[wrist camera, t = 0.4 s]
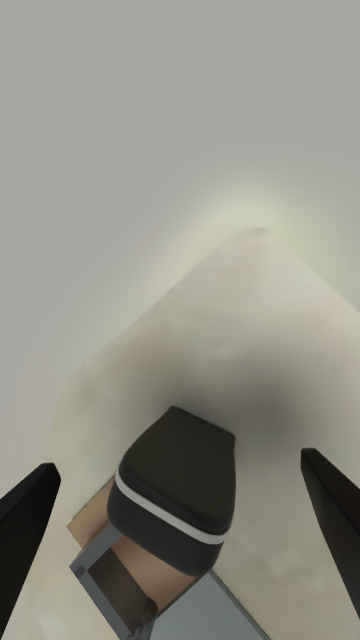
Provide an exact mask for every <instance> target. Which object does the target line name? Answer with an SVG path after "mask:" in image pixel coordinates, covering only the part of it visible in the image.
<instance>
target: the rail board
mask: <svg viewBox="0 0 360 640" xmlns="http://www.w3.org/2000/svg"><path fill="white" fill-rule="evenodd" d="M114 479H115V475H114V476H113V477H112V478H111V480H110V481H109V482H108V483H107V484H106V485H105V486H104V487H103V488H102V489H101V490H100V491H99V492H98V493H97V494H96V495H95V496H94V497H93V499H92V500H91V501H90V502H89V503H88V504H87V505H86V506H85V507H84V508H83V509H82V510H81V511H80V512H79V513H78V514H77V515H76V516H75V518H74V519H73V520H72V521H71V522H70V523H69V524H68V525H67V526H66V527H67V528H68V530H69V531H70V532H71V534H72V535H73V536H74V538H75V539H76V541H77V542H78V543H79V545H80V546H81V548H82V549H83V547H84V546H85V544H86V543H87V542H88V540H89V539H90V538H91V537H92V536H93V535H94V534H95V533H96V532H97V531H98V530H99V528H100V527H101V526H102V525H103V524H104V523H105V522H106V521H107V520H108V515H107V501H108V497H109V493H110V490H111V487H112V485H113V482H114ZM110 548H111V549H112V550H113V552H114V553H115V554H116V556H117V557H118V558H119V560H120V561H121V562H122V564H123V565H124V566H125V568H126V569H127V570H128V572H129V573H130V574H131V576H132V577H133V578H134V579H135V581H136V582H137V583H138V585H139V586H140V587H141V589H142V590H143V591H144V593H145V594H146V595H147V597H149V598H151V599H153V600H154V601H155V603H156V604H157V607H158V612H159V611H161V610H162V609H163V608H164V607H165V606H166V605H167V604H168V603H169V602H170V601H171V600H173V599H174V598H175V597H176V596H177V595H178V594H179V593H180V592H181V591H182V590H183V589H185V588H186V587H187V586H188V585H189V584H190V583H191V582H192V581H193V580H194V579H196V578H197V577H191V576H188V575H186V574H184V573H182V572H179V571H178V570H176V569H175V568H173V567H171V566H170V565H168V564H167V563H165V562H163V561H162V560H160V559H159V558H157V557H155V556H154V555H152V554H151V553H149V552H148V551H146V550H145V549H143V548H142V547H140V546H139V545H137V544H136V543H134V542H133V541H132V540H130V539H129V538H127V537H126V536H124V535H122V536H121V537H120V538H119V539H118V540H117V541H116V542H115V543H114V544H113V545H112V546H111V547H110Z"/></svg>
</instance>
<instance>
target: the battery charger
mask: <svg viewBox="0 0 360 640" xmlns="http://www.w3.org/2000/svg"><path fill="white" fill-rule="evenodd" d="M234 449H235V436H234V435H233V434H231V433H229V432H227V431H225V430H223V429H221V428H219V427H217V426H215V425H213V424H211V423H208V422H206V421H204V420H202V419H200V418H198V417H196V416H194V415H192V414H190V413H187V412H185V411H183V410H181V409H179V408H177V407H174V406H171V407H170V408H169V409H168V410H167V411H166V412H165V414H164V415H163V416H162V417H161V418H160V419H158V420H157V421H156V422H155V423H154V424H153V425H151V426H150V427H149V428H148V429H147V430H146V431H145V432H144V433H143V434H142V435H141V436H140V437H139V438H138V439H137V440H136V441H135V442H134V443H133V444H132V446H131V447H130V448H129V449H128V450H127V451H126V453H125V455H124V456H123V457H122V459H121V460H120V462H119V464H118V467H117V469H116V473H115V479H114V482H113V485H112V487H111V490H110V493H109V497H108V501H107V515H108V519H109V521H110V523H111V524H112V526H113V527H114V528H115V529H117V530H118V531H119V532H120V533H121V534H123V535H124V536H126V537H127V538H129V539H130V540H132V541H133V542H134V543H136V544H137V545H139V546H140V547H142V548H143V549H145V550H146V551H148V552H149V553H151V554H152V555H154V556H155V557H157V558H159V559H160V560H162V561H163V562H165V563H167V564H168V565H170V566H171V567H173V568H175V569H176V570H178V571H179V572H182V573H184V574H186V575H188V576H191V577H200V576H203V575H205V574H206V573H208V572H209V571H210V569H211V568H212V567H213V565H214V564H215V562H216V560H217V558H218V555H219V553H220V550H221V548H222V545H223V543H224V541H225V540H226V538H227V537H228V535H229V533H230V530H231V527H232V523H233V516H234V507H235V493H236V473H235V457H234Z"/></svg>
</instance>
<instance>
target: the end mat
mask: <svg viewBox="0 0 360 640" xmlns="http://www.w3.org/2000/svg"><path fill="white" fill-rule="evenodd" d="M150 640H270V639H269V638H268V636H267V635H266V634H265V633H264V632H263V630H262V629H261V628H260V627H259V626H258V624H257V623H256V622H255V621H254V620H253V618H252V617H251V616H250V615H249V614H248V612H247V611H246V610H245V609H244V608H243V606H242V605H241V604H240V603H239V602H238V600H237V599H236V598H235V597H234V596H233V594H232V593H231V592H230V591H229V590H228V588H227V587H226V586H225V585H224V584H223V582H222V581H221V580H220V579H219V578H218V577H217V575H216V574H215V573H214V572H213V571H212V569H210V571H209V572H208V573H206V574H205V575H203V576H200V577H197V578H196V579H194V580H193V581H192V582H191V583H190V584H189V585H188V586H187V587H186V588H185V589H183V590H182V591H181V592H180V593H179V594H178V595H177V596H176V597H175V598H174V599H173V600H171V601H170V602H169V603H168V604H167V605H166V606H165V607H164V608H163V609H162V610H161V611H159V612H158V613H157V617H156V620H155V624H154V627H153V630H152V634H151V637H150Z"/></svg>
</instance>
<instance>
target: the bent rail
mask: <svg viewBox="0 0 360 640" xmlns="http://www.w3.org/2000/svg"><path fill="white" fill-rule="evenodd" d="M122 535H123V534H121V533H120V532H119V531H118V530H117V529H115V528H114V527H113V526H112V524H111V523H110V521H109V519H108V520H107V521H106V522H105V523H104V524H103V525H102V526H101V527H100V528H99V530H98V531H97V532H96V533H95V534H94V535H93V536H92V537H91V538H90V539H89V540H88V542H87V543H86V544H85V546H84V547H83V549H82V550H81V551H80V553H79V554H78V555H77V557H76V558H75V560H74V561H73V562H72V564H71V565H70V566H69V567H70V569H71V570H72V571H73V573H74V574H75V576H76V577H77V579H78V580H79V582H80V583H81V584H82V586H83V587H84V589H85V590H86V592H87V593H88V594H89V596H90V597H91V599H92V600H93V602H94V603H95V604H96V606H97V607H98V609H99V610H100V612H101V613H102V614H103V616H104V617H105V619H106V620H107V622H108V623H109V625H110V626H111V627H112V629H113V630H114V632H115V633H116V635H117V636H118V637H119V639H120V640H150V637H151V634H152V630H153V627H154V624H155V620H156V617H157V613H158V607H157V604H156V603H155V601H154V600H153V599H151V598H149V597H147V595H146V594H145V593H144V591H143V590H142V589H141V587H140V586H139V585H138V583H137V582H136V581H135V579H134V578H133V577H132V576H131V574H130V573H129V572H128V570H127V569H126V568H125V566H124V565H123V564H122V562H121V561H120V560H119V558H118V557H117V556H116V554H115V553H114V552H113V550H112V549H111V548H110V547H111V546H112V545H113V544H114V543H115V542H116V541H117V540H118V539H119V538H120V537H121V536H122Z"/></svg>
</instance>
